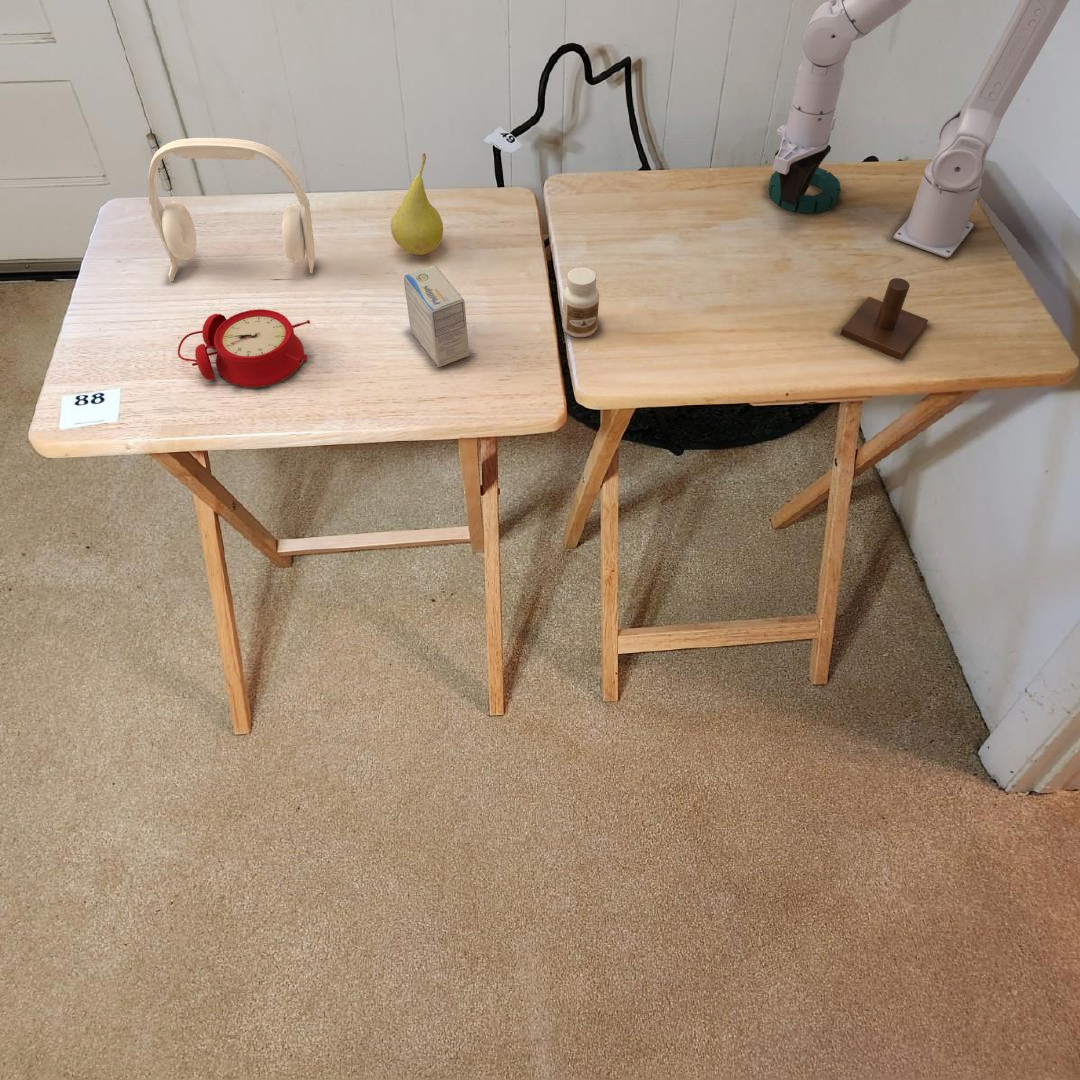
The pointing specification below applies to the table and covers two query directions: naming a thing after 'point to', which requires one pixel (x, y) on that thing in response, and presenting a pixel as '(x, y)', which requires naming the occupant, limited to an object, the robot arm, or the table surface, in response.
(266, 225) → the table surface
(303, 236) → the headset
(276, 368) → the alarm clock
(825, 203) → the ring
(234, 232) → the table surface
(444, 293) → the medicine box
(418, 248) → the fruit
